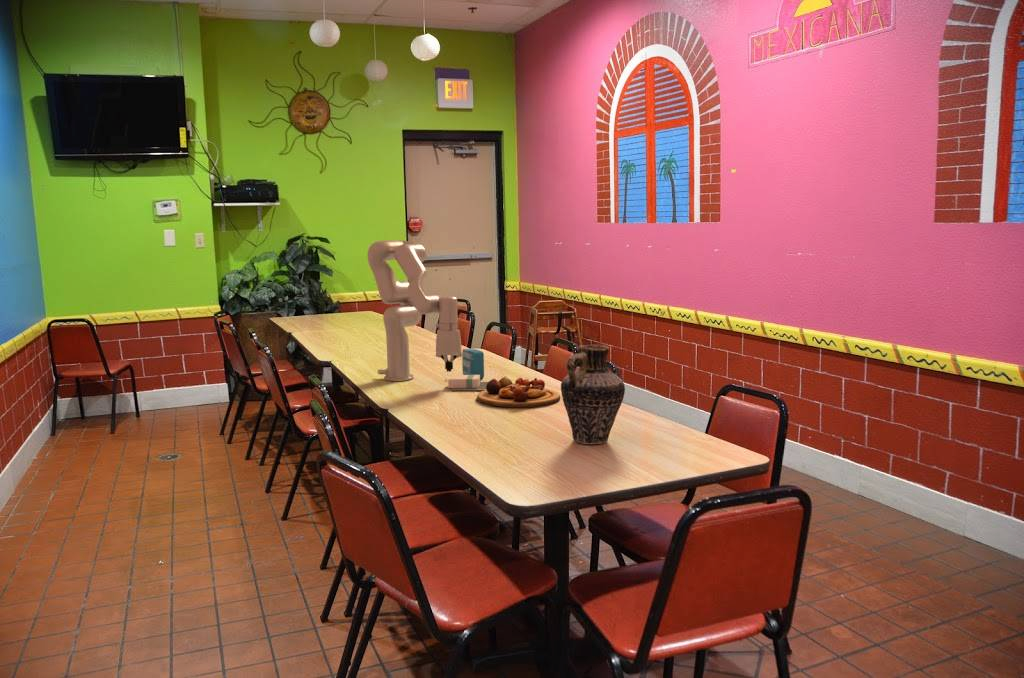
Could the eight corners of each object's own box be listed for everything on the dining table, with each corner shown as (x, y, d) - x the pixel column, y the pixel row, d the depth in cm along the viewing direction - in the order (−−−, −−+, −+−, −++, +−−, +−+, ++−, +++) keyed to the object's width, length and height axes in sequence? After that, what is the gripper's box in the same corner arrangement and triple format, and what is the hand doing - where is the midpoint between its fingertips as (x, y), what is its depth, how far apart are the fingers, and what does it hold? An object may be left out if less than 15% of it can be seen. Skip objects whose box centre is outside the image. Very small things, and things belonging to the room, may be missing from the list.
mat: (451, 391, 325) (451, 389, 324) (456, 383, 340) (456, 381, 340) (498, 391, 323) (498, 389, 323) (501, 383, 339) (501, 381, 339)
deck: (448, 379, 327) (477, 379, 327) (451, 374, 336) (480, 374, 336) (448, 388, 328) (477, 388, 327) (451, 383, 337) (480, 383, 336)
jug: (584, 429, 264) (584, 339, 260) (636, 439, 252) (637, 344, 247) (546, 444, 248) (545, 347, 244) (599, 455, 236) (600, 353, 232)
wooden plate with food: (552, 411, 291) (552, 388, 290) (467, 406, 298) (467, 384, 297) (566, 394, 322) (566, 373, 321) (488, 390, 329) (488, 370, 328)
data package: (462, 375, 357) (461, 348, 355) (471, 374, 359) (471, 347, 357) (475, 380, 347) (474, 352, 345) (484, 378, 349) (483, 351, 347)
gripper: (428, 327, 326) (429, 372, 329) (465, 328, 325) (466, 373, 328) (431, 325, 333) (432, 369, 336) (467, 325, 332) (468, 369, 335)
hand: (449, 370), depth 332 cm, fingers closed
